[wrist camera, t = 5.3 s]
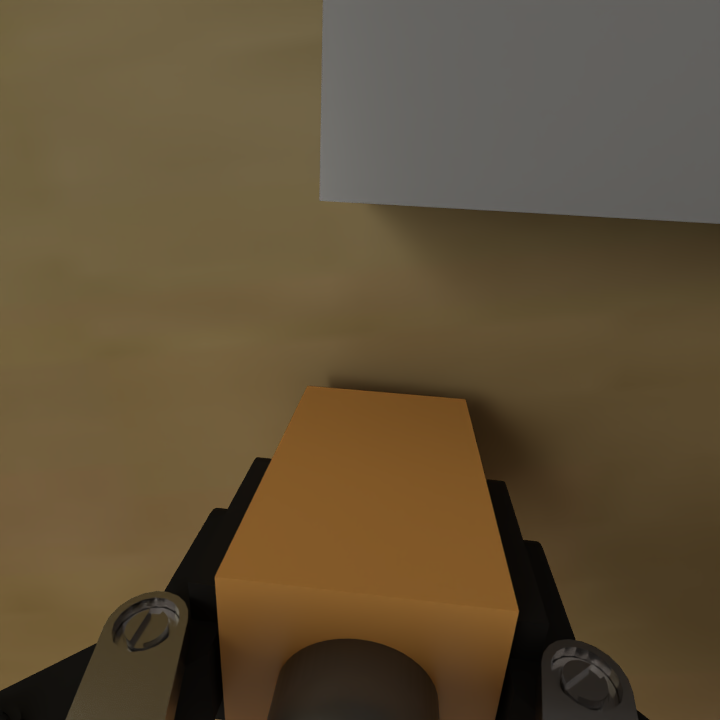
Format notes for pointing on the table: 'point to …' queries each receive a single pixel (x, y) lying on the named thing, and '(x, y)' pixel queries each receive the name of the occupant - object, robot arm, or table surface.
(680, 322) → the table surface
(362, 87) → the socket
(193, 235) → the table surface
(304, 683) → the plug
